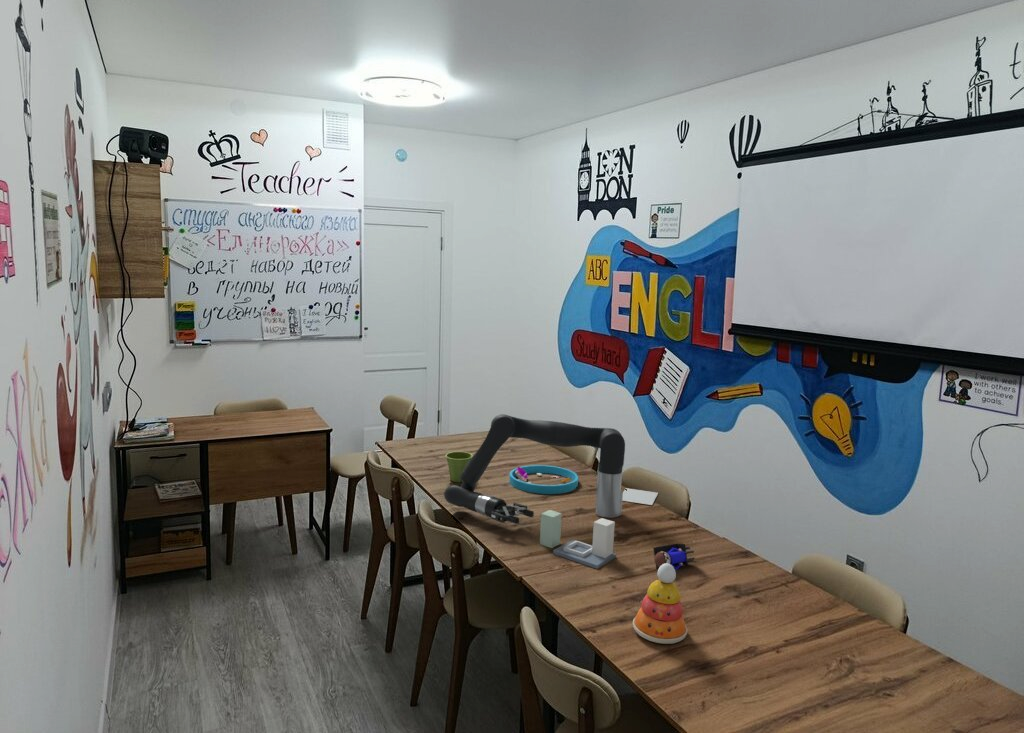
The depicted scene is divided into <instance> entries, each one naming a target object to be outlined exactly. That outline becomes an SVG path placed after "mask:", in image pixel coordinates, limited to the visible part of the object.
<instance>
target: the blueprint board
mask: <svg viewBox="0 0 1024 733" xmlns="http://www.w3.org/2000/svg"><path fill="white" fill-rule="evenodd" d="M552 554H553V555H556V556H558V557H561V558H564V559H567V560H569V561H570V560H571V561H573V562H576V563H579V564H581V565H584V566H588V567H590V568H593V569H596V570H598V569H599V568H601V567H602V566H604V565H606V564H607V563H609V562H611V561H612V560H614V559H616V558H617V554H616V553H614V552H613V554H611V555H610V556H608V557H606V558H603V557H600V556H597V555H594V554H592V545H591V544H588V543H586V542H585V543H584V542H582V541H579V540H574V539H572V540H570V541H568V542H566V543H564V544H563V545H560V546H559V547H557V548H555V549H553V550H552Z"/></svg>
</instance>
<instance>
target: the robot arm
mask: <svg viewBox="0 0 1024 733" xmlns="http://www.w3.org/2000/svg"><path fill="white" fill-rule="evenodd" d="M511 438H514V439H524V440H525V439H526V440H530V441H532V442H535V443H540V444H543V445H548V446H553V447H559V448H560V447H561V448H569V447H570V448H571V447H580V446H581V447H582V446H585V447H593V448H597V449H599V450H600V452H599V462H598V465H597V481H596V482H597V483H596V498H595V500H596V501H595V514H596V515H597V516H599V517H601V518H605V519H609V518H610V519H611V518H617V517H619V516H622V512H623V511H622V510H623V501H622V499H623V492H624V490H622V479H623V478H622V477H623V467H624V463H625V452H626V440H625V438H624V437H623V435H622V433H621V432H620V431H619V430H617V429H616V428H611V427H610V428H609V427H589V426H583V425H578V424H572V423H568V422H567V423H566V422H561V421H552V420H539V419H537V420H534V419H523V418H520V417H516V416H511V415H508V414H503V413H502V414H499V415H496V416H495V417H494V418H493V419H492V420H491V423H490V428H489V430H488V433H487V434H486V436H485V438H484V440H483V442H482V443H481V445H480V446H479V448H478V449H477V451H476V452H475V453H474V454H473V457H472V458H471V460H470V461H469V462H468V464H467V465H466V467H465V468H464V470H463V471H462V473H461V475H460V479H461V480H462V482H461V485H460V486H459V485H455V484H454V485H453V484H452V485H450V486H448V487H447V488H445V490H444V492H443V494H444V499H445V501H446V503H448V504H451V505H453V506H456V507H458V508H459V507H460V508H462V507H463V508H465V509H467V510H470V511H472V512H475V513H478V514H480V515H482V516H485V517H487V518H490V519H491V520H493V521H495V522H499V523H501V524H505V522H506V523H509V522H510V523H511V524H512V523H513V524H516V525H518V524H520V517H519V516H526V517H528V518H534V515H535V512H534V511H533V510H530V509H528V505H525V504H521V503H517V502H513V503H512V504H513V505H512V504H507V503H506V501H505V500H504V499H503V498H501V497H500V498H499V497H496V496H493V495H489V494H484V493H481V492H477V491H475V489H476V485H477V484H478V483H479V480H480V479H481V477H482V476H483V474H484V473H485V472H486V470H487V468H488V467H489V464H490V463H491V462H492V459H493V458H494V457H495V455H496V453H497V452H498V451H499V450H500V448H501V447H502V446H503V445H504V444H505V443H506V442H507V440H509V439H511Z"/></svg>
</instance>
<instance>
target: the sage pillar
mask: <svg viewBox="0 0 1024 733" xmlns="http://www.w3.org/2000/svg"><path fill="white" fill-rule="evenodd" d="M562 516H563V515H562V513H561V512H558V511H556V510H555V511H554V510H551V509H548V510H546V511H544V512H542V513H541V514H540V530H539V532H540V535H539V545H541V546H543V547H546V548H549V549H550V548H551V549H553V548H555V547H556V546H559V545H560V544H561V529H562Z"/></svg>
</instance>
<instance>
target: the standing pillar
mask: <svg viewBox="0 0 1024 733" xmlns="http://www.w3.org/2000/svg"><path fill="white" fill-rule="evenodd" d="M615 523H616V522H615V521H613V520H609V519H608V518H604V517H601V518H599V519H596V520H595V521H593V528H592V529H593V530H592V554H594V555H597V556H600V557H603V558H606V557H608V556H610V555H611V554H613V553H614V542H615V541H614V540H615V526H616V525H615Z"/></svg>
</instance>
